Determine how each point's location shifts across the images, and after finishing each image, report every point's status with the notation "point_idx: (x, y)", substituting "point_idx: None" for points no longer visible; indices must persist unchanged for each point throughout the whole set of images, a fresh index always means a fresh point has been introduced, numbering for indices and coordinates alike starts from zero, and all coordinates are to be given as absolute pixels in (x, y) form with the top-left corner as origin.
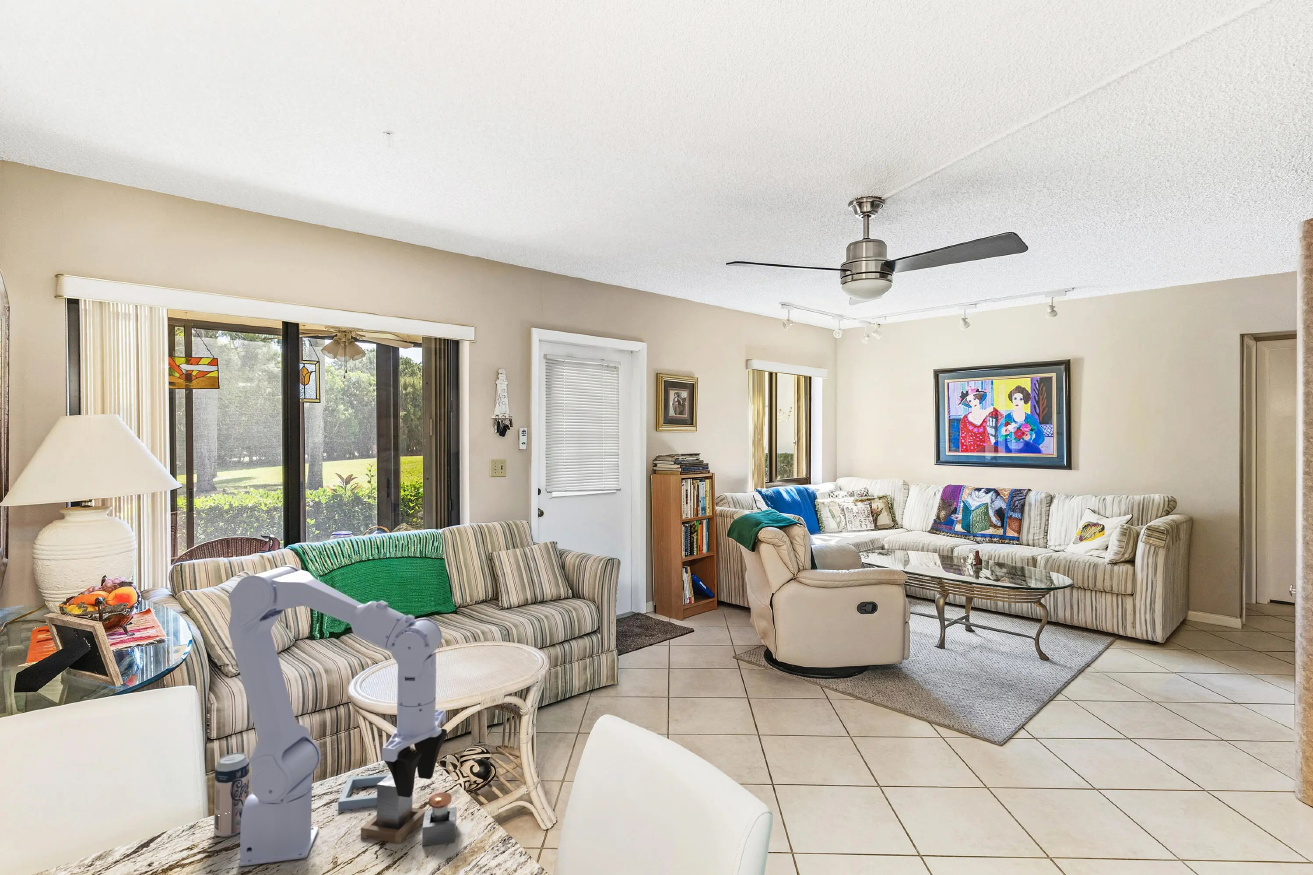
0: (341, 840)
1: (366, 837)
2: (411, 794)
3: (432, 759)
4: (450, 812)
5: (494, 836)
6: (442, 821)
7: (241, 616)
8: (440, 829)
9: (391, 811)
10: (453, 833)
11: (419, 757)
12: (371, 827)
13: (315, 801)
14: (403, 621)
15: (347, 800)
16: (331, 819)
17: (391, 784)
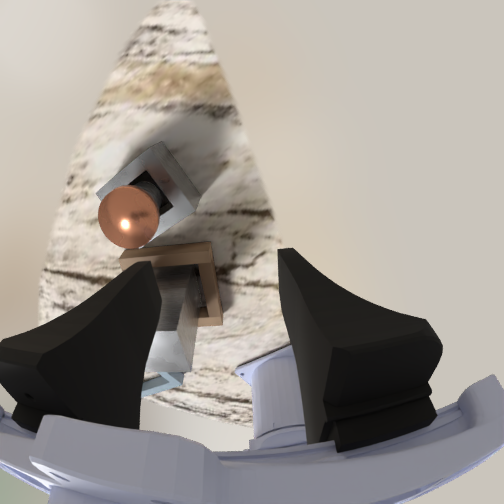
0: (242, 331)
1: (221, 305)
2: (284, 249)
3: (117, 304)
4: None
5: (114, 79)
6: (151, 185)
7: None
8: (172, 173)
9: (189, 303)
10: (158, 146)
11: (339, 335)
12: (213, 311)
13: (183, 400)
14: None
15: (173, 378)
16: (205, 369)
17: (175, 349)
